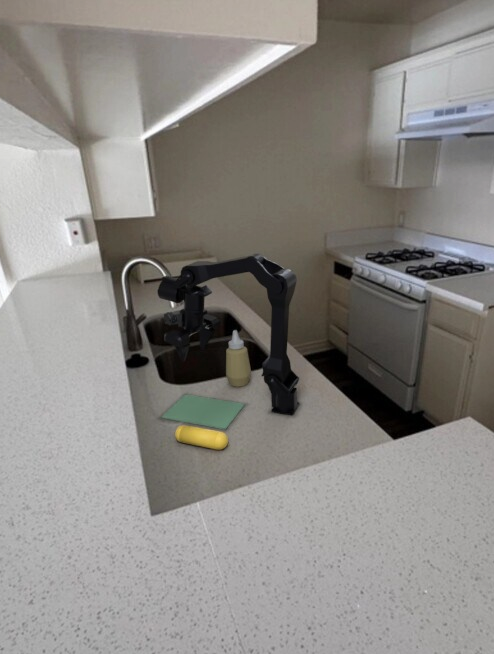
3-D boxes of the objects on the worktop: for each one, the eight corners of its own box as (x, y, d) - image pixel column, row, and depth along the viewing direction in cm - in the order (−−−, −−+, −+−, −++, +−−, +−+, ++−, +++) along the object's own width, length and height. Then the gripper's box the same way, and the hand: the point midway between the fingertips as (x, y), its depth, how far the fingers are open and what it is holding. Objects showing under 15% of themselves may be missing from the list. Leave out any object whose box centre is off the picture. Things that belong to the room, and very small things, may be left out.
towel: (245, 404, 122) (244, 403, 122) (225, 429, 111) (225, 428, 111) (185, 395, 129) (185, 394, 129) (161, 417, 118) (161, 416, 117)
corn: (231, 444, 105) (230, 429, 103) (223, 454, 101) (222, 440, 100) (182, 434, 110) (179, 420, 108) (173, 444, 106) (170, 430, 104)
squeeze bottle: (253, 377, 138) (250, 326, 130) (250, 389, 131) (246, 336, 123) (229, 376, 139) (224, 326, 131) (224, 388, 131) (219, 336, 124)
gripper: (191, 291, 128) (190, 336, 135) (148, 308, 113) (150, 358, 120) (221, 300, 124) (219, 347, 131) (181, 320, 109) (180, 371, 116)
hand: (192, 355), depth 125 cm, fingers open, 9 cm apart
